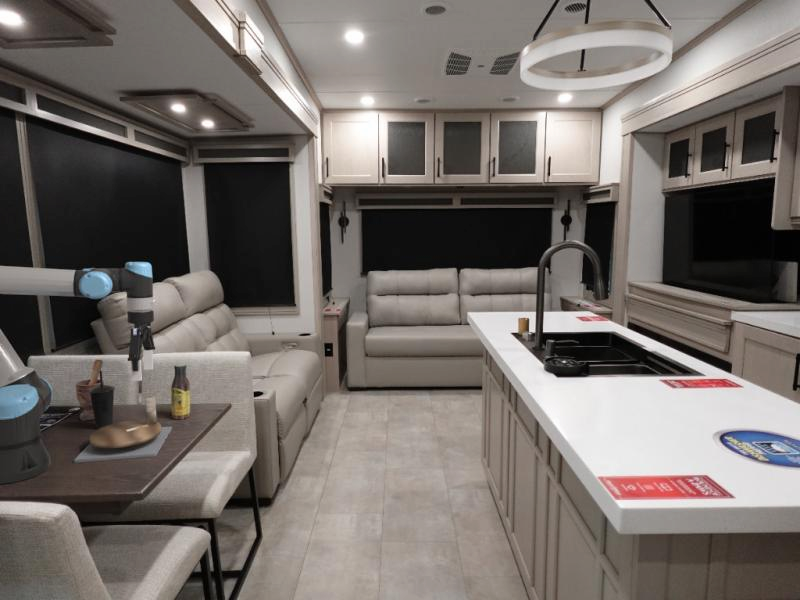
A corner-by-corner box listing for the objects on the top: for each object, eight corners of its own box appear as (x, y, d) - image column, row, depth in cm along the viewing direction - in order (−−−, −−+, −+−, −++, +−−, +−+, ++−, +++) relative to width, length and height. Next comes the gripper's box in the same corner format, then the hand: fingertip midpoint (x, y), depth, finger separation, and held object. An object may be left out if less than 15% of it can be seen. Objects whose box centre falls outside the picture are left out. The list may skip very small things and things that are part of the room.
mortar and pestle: (82, 411, 187) (78, 359, 185) (109, 409, 191) (105, 357, 188) (75, 422, 177) (71, 367, 174) (103, 419, 180) (100, 365, 177)
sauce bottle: (168, 418, 182) (165, 365, 179) (182, 413, 187) (180, 361, 185) (180, 421, 179) (177, 367, 176) (194, 416, 184) (192, 363, 182)
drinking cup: (122, 423, 176) (118, 368, 174) (107, 431, 169) (103, 374, 166) (101, 422, 177) (98, 367, 174) (86, 430, 169) (82, 373, 167)
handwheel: (106, 460, 145) (103, 420, 143) (79, 442, 157) (76, 405, 156) (173, 439, 161) (171, 402, 159) (144, 424, 173) (142, 390, 171)
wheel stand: (74, 462, 146) (74, 459, 146) (101, 433, 167) (101, 431, 167) (155, 456, 151) (155, 453, 151) (171, 428, 172) (171, 426, 172)
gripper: (142, 316, 149) (144, 385, 151) (162, 305, 173) (164, 364, 175) (114, 316, 147) (117, 386, 150) (138, 305, 171) (141, 365, 174)
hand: (142, 374), depth 162 cm, fingers open, 13 cm apart
